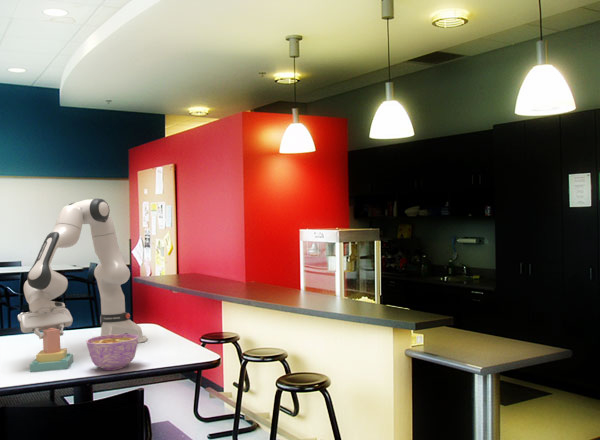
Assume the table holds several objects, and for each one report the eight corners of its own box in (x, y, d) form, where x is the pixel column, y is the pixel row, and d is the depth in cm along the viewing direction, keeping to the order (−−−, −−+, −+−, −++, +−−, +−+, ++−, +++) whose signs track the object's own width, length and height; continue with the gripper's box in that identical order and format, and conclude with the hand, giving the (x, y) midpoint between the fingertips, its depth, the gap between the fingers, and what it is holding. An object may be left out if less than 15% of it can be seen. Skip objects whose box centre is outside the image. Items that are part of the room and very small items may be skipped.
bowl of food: (100, 361, 249) (99, 334, 249) (146, 361, 247) (145, 333, 247) (77, 374, 229) (76, 344, 229) (128, 373, 227) (127, 343, 227)
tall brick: (55, 349, 248) (54, 326, 248) (60, 351, 244) (59, 327, 244) (43, 351, 244) (42, 328, 244) (48, 353, 241) (47, 329, 241)
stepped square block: (73, 361, 253) (72, 346, 253) (67, 368, 239) (67, 353, 239) (37, 364, 250) (37, 349, 250) (30, 372, 236) (29, 356, 236)
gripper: (17, 308, 242) (26, 335, 235) (68, 302, 256) (78, 327, 249) (14, 318, 246) (23, 345, 238) (64, 311, 259) (74, 337, 252)
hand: (51, 336), depth 244 cm, fingers open, 6 cm apart
